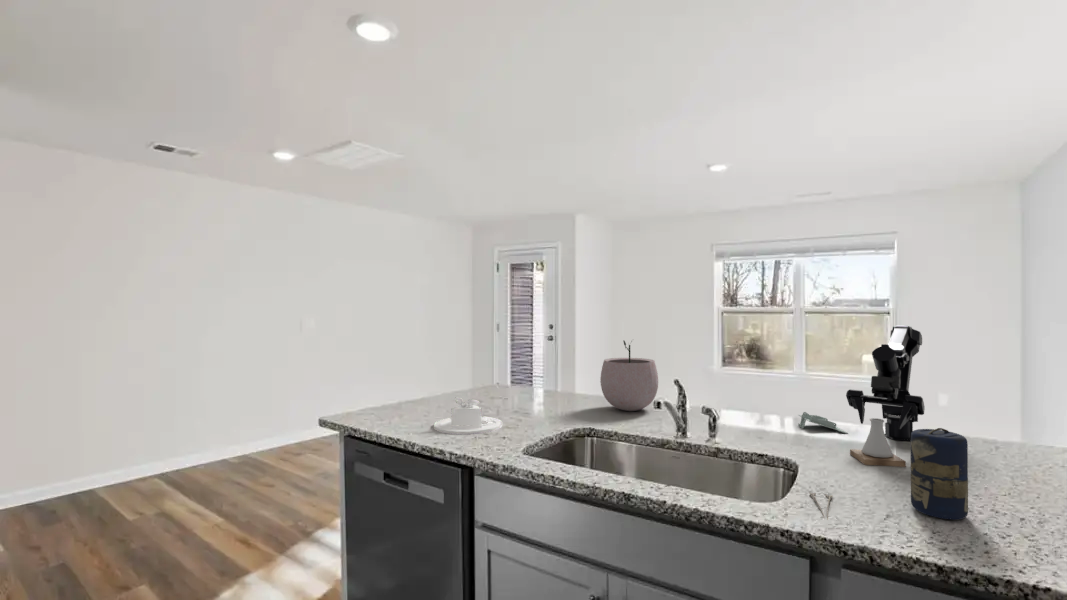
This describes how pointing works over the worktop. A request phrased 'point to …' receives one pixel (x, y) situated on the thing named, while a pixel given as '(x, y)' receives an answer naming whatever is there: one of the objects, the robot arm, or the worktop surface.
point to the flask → (877, 441)
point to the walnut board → (877, 459)
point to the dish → (467, 420)
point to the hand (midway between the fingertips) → (879, 425)
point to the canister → (939, 473)
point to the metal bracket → (818, 421)
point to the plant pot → (629, 382)
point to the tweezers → (818, 503)
